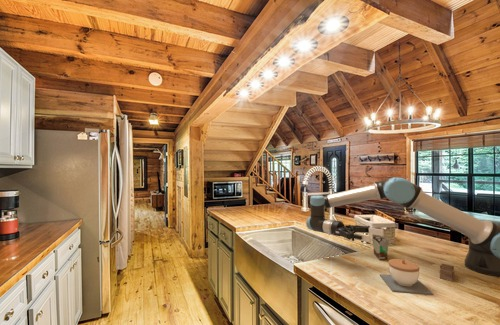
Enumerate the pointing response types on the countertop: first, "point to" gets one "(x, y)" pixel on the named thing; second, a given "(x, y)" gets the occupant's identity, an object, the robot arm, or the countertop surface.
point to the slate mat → (395, 287)
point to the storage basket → (377, 226)
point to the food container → (380, 247)
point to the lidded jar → (404, 271)
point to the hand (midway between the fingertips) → (377, 236)
